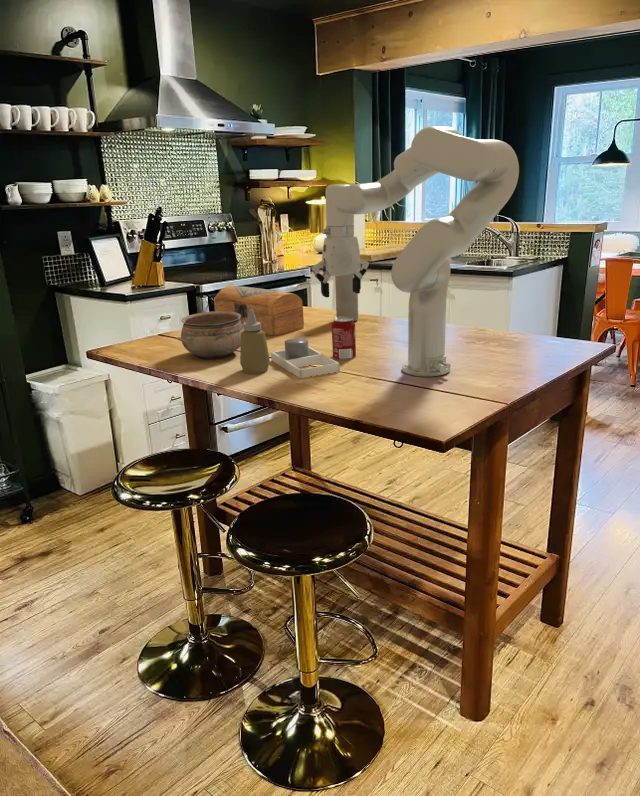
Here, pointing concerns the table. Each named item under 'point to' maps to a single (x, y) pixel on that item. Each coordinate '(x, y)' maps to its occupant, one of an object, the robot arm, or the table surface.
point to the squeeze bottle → (253, 347)
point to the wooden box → (263, 308)
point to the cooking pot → (212, 334)
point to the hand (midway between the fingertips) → (341, 294)
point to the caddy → (303, 359)
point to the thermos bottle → (346, 297)
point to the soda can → (343, 338)
